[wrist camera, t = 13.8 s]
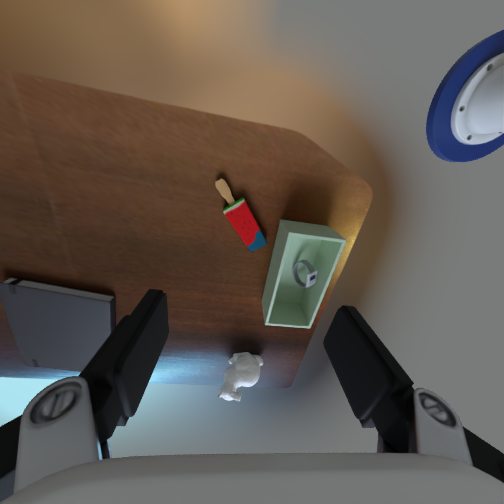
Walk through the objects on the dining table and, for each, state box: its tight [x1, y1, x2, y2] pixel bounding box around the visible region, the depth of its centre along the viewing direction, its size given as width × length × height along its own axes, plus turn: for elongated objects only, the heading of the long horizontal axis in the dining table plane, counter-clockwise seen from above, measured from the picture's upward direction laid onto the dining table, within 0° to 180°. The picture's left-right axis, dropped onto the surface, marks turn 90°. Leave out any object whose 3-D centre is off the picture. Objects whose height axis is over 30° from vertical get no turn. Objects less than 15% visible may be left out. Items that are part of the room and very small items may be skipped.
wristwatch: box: [293, 260, 318, 288], centre depth 39 cm, size 6×3×5 cm
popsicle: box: [215, 179, 267, 252], centre depth 35 cm, size 4×2×15 cm
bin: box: [262, 219, 346, 328], centre depth 39 cm, size 21×10×8 cm, turn 171°
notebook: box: [0, 277, 116, 372], centre depth 46 cm, size 22×2×28 cm
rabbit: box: [218, 352, 263, 401], centre depth 50 cm, size 12×9×12 cm
